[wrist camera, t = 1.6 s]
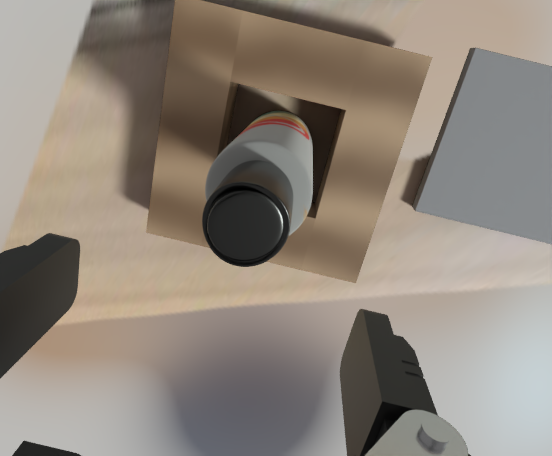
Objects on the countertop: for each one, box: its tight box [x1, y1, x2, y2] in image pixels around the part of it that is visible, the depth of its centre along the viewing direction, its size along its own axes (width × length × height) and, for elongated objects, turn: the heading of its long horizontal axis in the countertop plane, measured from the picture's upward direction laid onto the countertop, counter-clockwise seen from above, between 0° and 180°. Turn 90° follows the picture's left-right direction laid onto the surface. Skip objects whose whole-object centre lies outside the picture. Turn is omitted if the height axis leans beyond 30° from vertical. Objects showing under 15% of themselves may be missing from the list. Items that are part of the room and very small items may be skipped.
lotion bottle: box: [202, 111, 313, 267], centre depth 27 cm, size 6×6×20 cm
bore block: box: [146, 0, 432, 283], centre depth 34 cm, size 18×18×4 cm
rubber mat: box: [412, 48, 552, 244], centre depth 34 cm, size 13×13×1 cm
